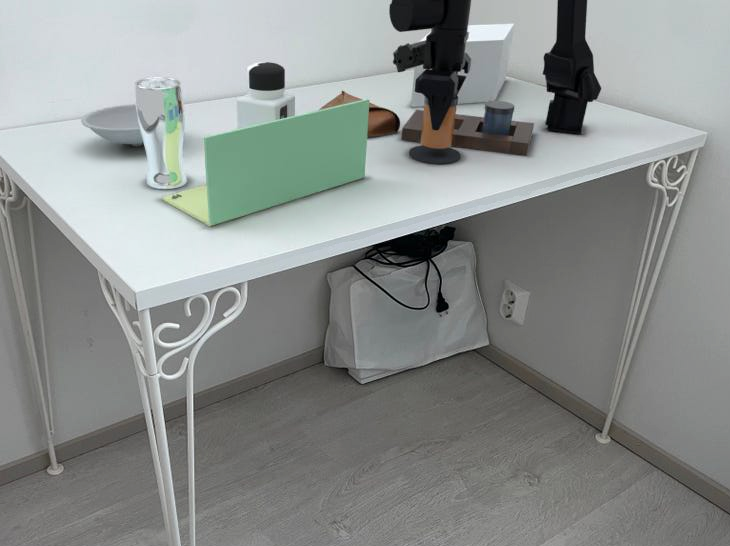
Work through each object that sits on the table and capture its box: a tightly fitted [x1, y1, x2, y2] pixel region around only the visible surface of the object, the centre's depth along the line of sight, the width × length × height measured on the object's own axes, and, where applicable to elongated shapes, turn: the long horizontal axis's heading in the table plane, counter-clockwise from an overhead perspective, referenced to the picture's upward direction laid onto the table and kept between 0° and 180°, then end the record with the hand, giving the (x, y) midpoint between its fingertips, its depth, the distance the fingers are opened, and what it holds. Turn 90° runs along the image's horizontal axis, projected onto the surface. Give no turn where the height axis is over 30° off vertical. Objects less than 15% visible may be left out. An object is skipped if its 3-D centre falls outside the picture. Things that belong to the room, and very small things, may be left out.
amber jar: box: [419, 95, 459, 149], centre depth 127 cm, size 6×6×8 cm
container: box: [236, 61, 296, 129], centre depth 131 cm, size 8×8×13 cm
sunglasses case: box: [316, 90, 401, 138], centre depth 143 cm, size 18×7×7 cm, turn 36°
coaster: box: [408, 144, 462, 165], centre depth 130 cm, size 9×9×1 cm
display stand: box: [161, 98, 370, 227], centre depth 112 cm, size 30×12×12 cm, turn 132°
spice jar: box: [482, 100, 516, 136], centre depth 136 cm, size 5×5×6 cm
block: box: [410, 23, 515, 108], centre depth 161 cm, size 18×35×12 cm, turn 135°
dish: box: [80, 103, 143, 147], centre depth 129 cm, size 18×14×5 cm
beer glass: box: [134, 76, 188, 190], centre depth 112 cm, size 7×7×15 cm
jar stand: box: [400, 109, 535, 156], centre depth 138 cm, size 23×13×2 cm, turn 72°
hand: (438, 125), depth 127 cm, fingers closed on amber jar, 5 cm apart
